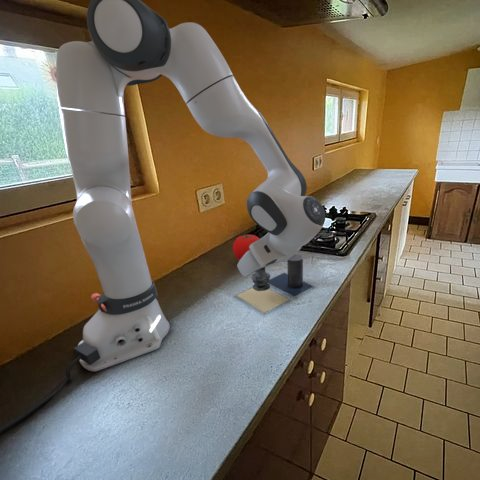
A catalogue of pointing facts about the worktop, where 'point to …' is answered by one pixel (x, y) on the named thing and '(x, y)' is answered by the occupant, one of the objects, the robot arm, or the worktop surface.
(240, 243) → the tomato
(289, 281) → the dark grey cylinder
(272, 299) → the oat mat
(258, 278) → the grey chess piece
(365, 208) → the worktop surface
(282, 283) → the slate mat
